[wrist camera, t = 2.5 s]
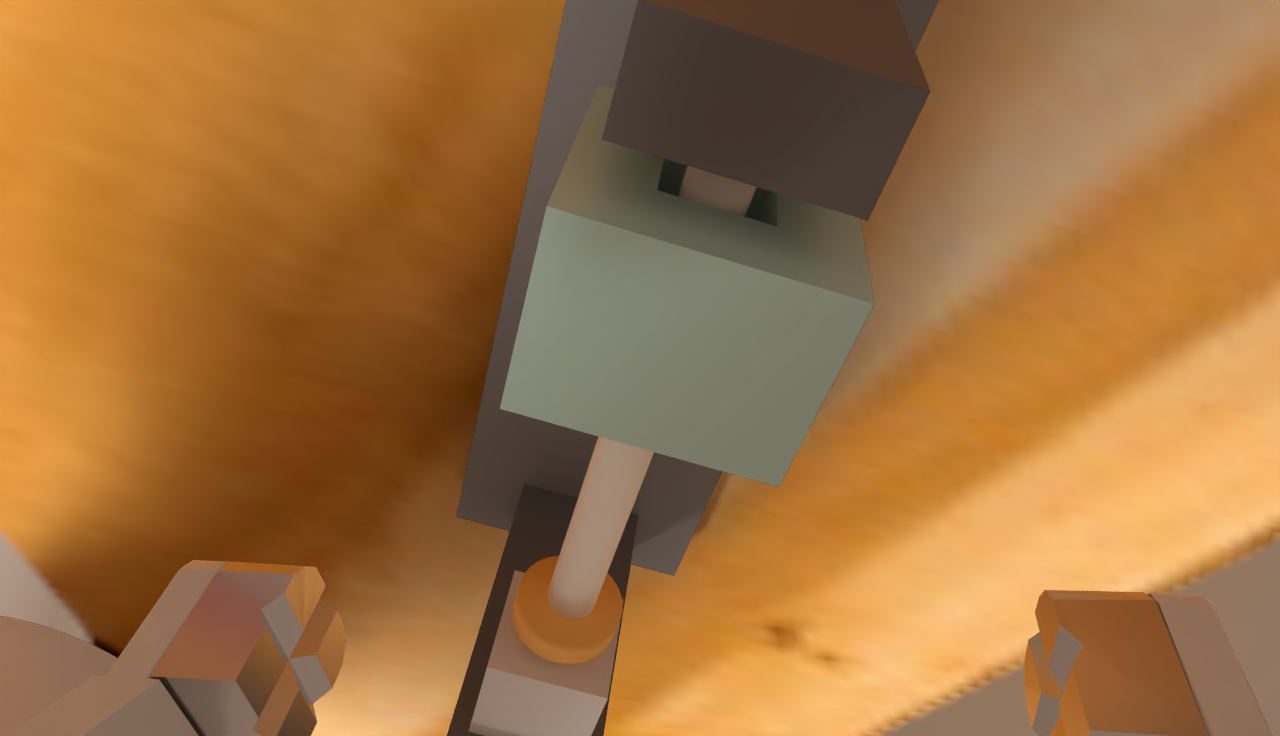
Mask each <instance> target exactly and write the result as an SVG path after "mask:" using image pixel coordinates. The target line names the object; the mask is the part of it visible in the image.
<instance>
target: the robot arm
mask: <svg viewBox="0 0 1280 736" xmlns="http://www.w3.org/2000/svg"><path fill="white" fill-rule="evenodd" d="M325 586H326V584H325V583H324V581H323V579H322V577H321V575H320V573H319V571H318V570H317V568H316V567H309V566H295V565H279V564H263V563H247V562H232V561H231V562H230V561H208V560H192V561H191V562H189V563H188V564H186V565H185V566H183V567H182V568H180V569H179V570H178V572H177V573H176V575H175V576H174V577H173V579H172V580H171V582H170V583H169V585H168V586H167V588H166V589H165V591H164V592H163V593H162V595H161V596H160V598H159V599H158V601H157V602H156V604H155V605H154V607H153V608H152V609H151V611H150V612H149V614H148V615H147V617H146V618H145V620H144V621H143V623H142V624H141V625H140V627H139V628H138V630H137V631H136V633H135V634H134V636H133V637H132V639H131V640H130V641H129V643H128V644H127V646H126V647H125V649H124V650H123V652H122V653H121V655H120V656H119V657H118V658H117V657H115V656H113V655H111V654H109V653H108V652H106V651H104V650H102V649H100V648H98V647H96V646H94V645H91V644H89V643H87V642H85V641H83V640H80V639H78V638H76V637H73V636H71V635H68V634H65V633H63V632H60V631H57V630H54V629H51V628H48V627H45V626H42V625H38V624H35V623H31V622H27V621H23V620H19V619H14V618H9V617H4V616H0V736H311V734H312V732H313V730H314V728H315V725H316V723H317V719H316V715H315V711H314V707H313V703H314V702H316V701H317V700H318V699H319V698H321V697H322V696H323V695H324V694H325V693H327V692H328V691H329V690H330V689H332V688H333V685H334V683H335V681H336V678H337V676H338V674H339V671H340V669H341V667H342V662H343V655H344V649H345V643H346V639H345V631H344V624H343V621H342V619H341V617H340V614H339V612H338V610H337V609H336V608H334V607H333V606H332V605H330V604H329V603H327V602H326V601H325V600H323V599H322V598H321V595H322V593H323V591H324V589H325ZM1035 614H1036V618H1037V622H1038V626H1039V630H1040V632H1039V633H1038V634H1036V635H1035V636H1033V637H1032V638H1030V639H1029V640H1028V646H1027V651H1026V656H1025V683H1024V685H1025V693H1026V701H1027V707H1028V712H1029V716H1030V721H1031V726H1032V729H1033V730H1034V731H1035V732H1036V733H1037V734H1038V735H1039V736H1273V734H1272V732H1271V730H1270V728H1269V725H1268V723H1267V721H1266V719H1265V717H1264V715H1263V712H1262V710H1261V708H1260V706H1259V704H1258V702H1257V699H1256V697H1255V695H1254V693H1253V691H1252V688H1251V687H1250V684H1249V682H1248V680H1247V678H1246V676H1245V673H1244V671H1243V669H1242V667H1241V665H1240V662H1239V660H1238V658H1237V656H1236V654H1235V652H1234V649H1233V647H1232V645H1231V643H1230V641H1229V638H1228V636H1227V634H1226V632H1225V630H1224V628H1223V625H1222V623H1221V621H1220V619H1219V617H1218V615H1217V612H1216V610H1215V608H1214V606H1213V604H1212V603H1211V602H1210V601H1209V600H1208V599H1207V598H1206V597H1205V596H1203V595H1179V594H1145V593H1144V592H1108V591H1062V590H1044V592H1043V593H1042V594H1041V595H1040V597H1039V600H1038V603H1037V607H1036V611H1035Z"/></svg>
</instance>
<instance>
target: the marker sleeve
mask: <svg viewBox="0 0 1280 736" xmlns="http://www.w3.org/2000/svg"><path fill="white" fill-rule="evenodd" d="M614 90H615V89H613V88H610V87H607V86H604V85H601V84H599V85H598V87H597V90H596V92H595V94H594V97H593V99H592V101H591V104H590V106H589V108H588V111H587V113H586V115H585V118H584V120H583V122H582V125H581V127H580V129H579V132H578V134H577V136H576V139H575V141H574V143H573V146H572V148H571V150H570V153H569V155H568V157H567V160H566V162H565V164H564V167H563V169H562V171H561V174H560V176H559V178H558V181H557V183H556V185H555V188H554V190H553V192H552V195H551V197H550V199H549V202H548V204H547V207H546V211H545V215H544V220H543V224H542V228H541V233H540V237H539V241H538V246H537V250H536V254H535V258H534V263H533V267H532V271H531V276H530V280H529V284H528V289H527V293H526V297H525V302H524V306H523V310H522V315H521V319H520V323H519V328H518V332H517V336H516V341H515V345H514V349H513V354H512V358H511V362H510V367H509V371H508V375H507V380H506V384H505V388H504V393H503V397H502V401H501V405H500V409H503V410H506V411H510V412H513V413H517V414H520V415H524V416H528V417H531V418H535V419H538V420H542V421H545V422H549V423H552V424H556V425H560V426H563V427H567V428H570V429H574V430H577V431H581V432H584V433H588V434H591V435H595V436H599V437H602V438H606V439H609V440H613V441H616V442H620V443H623V444H627V445H631V446H634V447H638V448H641V449H645V450H648V451H652V452H655V453H659V454H662V455H666V456H670V457H673V458H677V459H680V460H684V461H687V462H691V463H694V464H698V465H702V466H705V467H709V468H712V469H716V470H719V471H723V472H726V473H730V474H733V475H737V476H741V477H744V478H748V479H751V480H755V481H758V482H762V483H765V484H769V485H773V486H776V487H779V486H780V484H781V482H782V480H783V478H784V476H785V474H786V472H787V471H788V469H789V467H790V465H791V463H792V461H793V459H794V457H795V455H796V453H797V451H798V449H799V448H800V446H801V444H802V442H803V440H804V438H805V436H806V434H807V432H808V430H809V428H810V427H811V425H812V423H813V421H814V419H815V417H816V415H817V413H818V411H819V409H820V407H821V405H822V404H823V402H824V400H825V398H826V396H827V394H828V392H829V390H830V388H831V386H832V384H833V383H834V381H835V379H836V377H837V375H838V373H839V371H840V369H841V367H842V365H843V363H844V361H845V360H846V358H847V356H848V354H849V352H850V350H851V348H852V346H853V344H854V342H855V340H856V339H857V337H858V335H859V333H860V331H861V329H862V327H863V325H864V323H865V321H866V319H867V317H868V316H869V314H870V312H871V310H872V308H873V306H874V298H873V292H872V286H871V280H870V274H869V268H868V262H867V256H866V250H865V243H864V237H863V231H862V225H861V219H860V218H857V217H854V216H851V215H847V214H844V213H841V212H837V211H834V210H831V209H828V208H824V207H821V206H818V205H815V204H811V203H808V202H805V201H801V200H798V199H795V198H792V197H788V196H785V195H782V194H778V193H775V192H772V191H769V190H765V189H762V188H759V187H756V190H755V192H754V195H753V198H752V200H751V203H750V205H749V208H748V211H747V213H746V216H745V217H744V216H741V215H737V214H734V213H731V212H728V211H724V210H721V209H718V208H714V207H711V206H708V205H704V204H701V203H698V202H695V201H691V200H688V199H685V198H681V197H678V194H679V191H680V187H681V184H682V181H683V178H684V175H685V172H686V169H687V165H683V164H680V163H677V162H674V161H670V160H667V159H664V158H661V157H657V156H654V155H651V154H647V153H644V152H641V151H638V150H634V149H631V148H628V147H625V146H621V145H618V144H615V143H611V142H608V141H605V140H602V136H603V132H604V129H605V125H606V121H607V117H608V113H609V109H610V106H611V102H612V98H613V94H614Z"/></svg>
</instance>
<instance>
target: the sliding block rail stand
mask: <svg viewBox="0 0 1280 736" xmlns="http://www.w3.org/2000/svg"><path fill="white" fill-rule="evenodd" d="M938 1H939V0H566V3H565V8H564V13H563V17H562V22H561V27H560V32H559V36H558V41H557V46H556V50H555V55H554V60H553V64H552V69H551V74H550V79H549V83H548V88H547V93H546V97H545V102H544V107H543V112H542V116H541V121H540V126H539V130H538V135H537V140H536V144H535V149H534V154H533V159H532V163H531V168H530V173H529V177H528V182H527V187H526V191H525V196H524V201H523V206H522V210H521V215H520V220H519V224H518V229H517V234H516V238H515V243H514V248H513V253H512V257H511V262H510V267H509V271H508V276H507V281H506V285H505V290H504V295H503V300H502V304H501V309H500V314H499V318H498V323H497V328H496V333H495V337H494V342H493V347H492V351H491V356H490V361H489V365H488V370H487V375H486V380H485V384H484V389H483V394H482V398H481V403H480V408H479V412H478V417H477V422H476V427H475V431H474V436H473V441H472V445H471V450H470V455H469V459H468V464H467V469H466V474H465V478H464V483H463V488H462V492H461V497H460V502H459V506H458V511H457V516H456V517H460V518H463V519H467V520H471V521H474V522H478V523H482V524H485V525H489V526H493V527H496V528H500V529H504V530H507V531H510V532H509V536H508V539H507V542H506V545H505V549H504V552H503V555H502V558H501V562H500V565H499V568H498V571H497V575H496V578H495V581H494V584H493V588H492V591H491V594H490V597H489V601H488V604H487V607H486V610H485V614H484V617H483V620H482V623H481V627H480V630H479V633H478V636H477V640H476V643H475V646H474V649H473V653H472V656H471V659H470V662H469V666H468V669H467V672H466V675H465V679H464V682H463V685H462V688H461V692H460V695H459V698H458V701H457V705H456V708H455V711H454V714H453V718H452V721H451V724H450V727H449V731H448V734H447V736H603V734H604V728H605V722H606V715H607V709H608V703H609V697H610V690H611V684H612V678H613V672H614V665H615V659H616V653H617V647H618V640H619V634H620V628H621V622H622V615H623V609H624V603H625V597H626V590H627V584H628V578H629V572H630V565H631V564H632V565H636V566H640V567H643V568H647V569H651V570H654V571H658V572H662V573H665V574H669V575H673V576H674V575H675V573H676V570H677V568H678V566H679V564H680V562H681V560H682V557H683V555H684V553H685V551H686V549H687V546H688V544H689V542H690V540H691V538H692V536H693V533H694V531H695V529H696V527H697V525H698V523H699V520H700V518H701V516H702V514H703V512H704V509H705V507H706V505H707V503H708V501H709V499H710V496H711V494H712V492H713V490H714V488H715V486H716V483H717V481H718V479H719V477H720V475H721V473H722V471H719V470H716V469H712V468H709V467H705V466H702V465H698V464H694V463H691V462H687V461H684V460H680V459H677V458H673V457H670V456H666V455H662V454H659V453H655V452H652V451H648V450H645V449H641V448H638V447H634V446H631V445H627V444H623V443H620V442H616V441H613V440H609V439H606V438H602V437H599V436H595V435H591V434H588V433H584V432H581V431H577V430H574V429H570V428H567V427H563V426H560V425H556V424H552V423H549V422H545V421H542V420H538V419H535V418H531V417H528V416H524V415H520V414H517V413H513V412H510V411H506V410H503V409H500V405H501V401H502V397H503V393H504V388H505V384H506V380H507V375H508V371H509V367H510V362H511V358H512V354H513V349H514V345H515V341H516V336H517V332H518V328H519V323H520V319H521V315H522V310H523V306H524V302H525V297H526V293H527V289H528V284H529V280H530V276H531V271H532V267H533V263H534V258H535V254H536V250H537V246H538V241H539V237H540V233H541V228H542V224H543V220H544V215H545V211H546V207H547V204H548V202H549V199H550V197H551V195H552V192H553V190H554V188H555V185H556V183H557V181H558V178H559V176H560V174H561V171H562V169H563V167H564V164H565V162H566V160H567V157H568V155H569V153H570V150H571V148H572V146H573V143H574V141H575V139H576V136H577V134H578V132H579V129H580V127H581V125H582V122H583V120H584V118H585V115H586V113H587V111H588V108H589V106H590V104H591V101H592V99H593V97H594V94H595V92H596V90H597V87H598V85H599V84H601V85H604V86H607V87H610V88H613V89H615V90H614V94H613V98H612V102H611V106H610V109H609V113H608V117H607V121H606V125H605V129H604V132H603V136H602V140H605V141H608V142H611V143H615V144H618V145H621V146H625V147H628V148H631V149H634V150H638V151H641V152H644V153H647V154H651V155H654V156H657V157H661V158H664V159H667V160H670V161H674V162H677V163H680V164H683V165H687V169H686V172H685V175H684V178H683V181H682V184H681V187H680V191H679V194H678V197H681V198H685V199H688V200H691V201H695V202H698V203H701V204H704V205H708V206H711V207H714V208H718V209H721V210H724V211H728V212H731V213H734V214H737V215H741V216H744V217H745V216H746V213H747V211H748V208H749V205H750V203H751V200H752V198H753V195H754V192H755V190H756V187H759V188H762V189H765V190H769V191H772V192H775V193H778V194H782V195H785V196H788V197H792V198H795V199H798V200H801V201H805V202H808V203H811V204H815V205H818V206H821V207H824V208H828V209H831V210H834V211H837V212H841V213H844V214H847V215H851V216H854V217H857V218H860V219H864V220H867V221H868V219H869V217H870V215H871V213H872V211H873V208H874V206H875V204H876V202H877V200H878V198H879V196H880V194H881V192H882V190H883V188H884V186H885V184H886V182H887V180H888V177H889V175H890V173H891V171H892V169H893V167H894V165H895V163H896V161H897V159H898V157H899V155H900V153H901V151H902V149H903V146H904V144H905V142H906V140H907V138H908V136H909V134H910V132H911V130H912V128H913V126H914V124H915V122H916V120H917V117H918V115H919V113H920V111H921V109H922V107H923V105H924V103H925V101H926V99H927V97H928V95H929V93H930V90H929V87H928V84H927V82H926V79H925V77H924V74H923V71H922V69H921V66H920V64H919V61H918V58H917V56H916V53H915V51H916V48H917V46H918V44H919V42H920V40H921V38H922V35H923V33H924V31H925V29H926V27H927V25H928V22H929V20H930V18H931V16H932V14H933V12H934V9H935V7H936V5H937V3H938Z"/></svg>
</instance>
